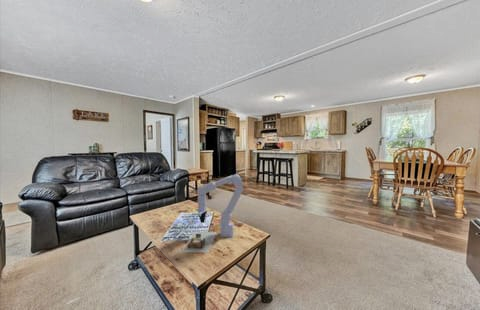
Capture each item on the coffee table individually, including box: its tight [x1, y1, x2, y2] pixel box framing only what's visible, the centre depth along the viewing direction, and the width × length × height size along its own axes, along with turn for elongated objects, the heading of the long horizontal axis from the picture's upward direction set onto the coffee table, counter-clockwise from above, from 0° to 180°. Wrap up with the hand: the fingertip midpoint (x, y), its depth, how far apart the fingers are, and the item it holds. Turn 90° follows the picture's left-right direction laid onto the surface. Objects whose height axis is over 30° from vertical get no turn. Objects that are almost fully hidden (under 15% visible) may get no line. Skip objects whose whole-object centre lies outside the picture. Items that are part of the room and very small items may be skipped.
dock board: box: [181, 231, 217, 253], centre depth 114 cm, size 16×24×1 cm, turn 176°
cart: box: [193, 234, 203, 244], centre depth 109 cm, size 6×5×6 cm
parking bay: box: [188, 238, 205, 249], centre depth 109 cm, size 9×7×2 cm
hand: (202, 222), depth 120 cm, fingers closed
